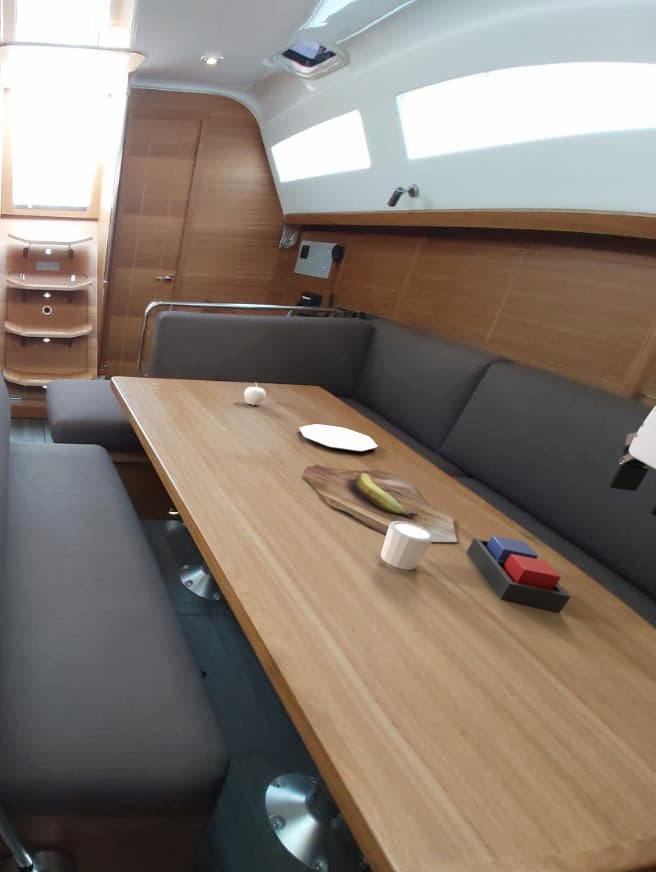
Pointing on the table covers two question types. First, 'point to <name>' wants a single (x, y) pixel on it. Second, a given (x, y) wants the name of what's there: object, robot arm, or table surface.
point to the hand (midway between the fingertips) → (642, 501)
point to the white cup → (405, 544)
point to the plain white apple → (254, 395)
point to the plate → (338, 437)
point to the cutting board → (379, 500)
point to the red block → (531, 572)
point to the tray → (510, 589)
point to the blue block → (508, 548)
